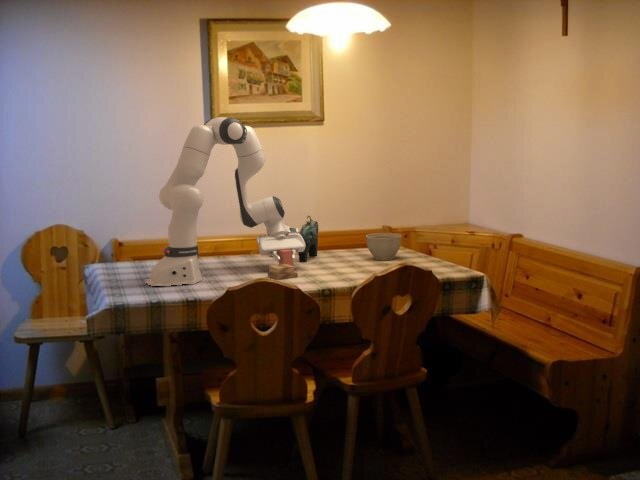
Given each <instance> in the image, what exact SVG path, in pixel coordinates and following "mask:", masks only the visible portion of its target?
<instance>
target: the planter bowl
mask: <svg viewBox="0 0 640 480" xmlns="http://www.w3.org/2000/svg"><path fill="white" fill-rule="evenodd" d="M365 239H366V244H367V245H366V246H367V249H368V250H369V253H370V254H371V255H372V257H373V259H374V260H376V261H391V260H394V259H395V258H396V257H395V256H396V255H397V254H398V252H399V250H400V247H401V244H402V242H401V241H402V234H400V233H395V232H394V233H393V232H378V233H377V232H376V233H369V234H366V235H365Z"/></svg>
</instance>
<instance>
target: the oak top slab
mask: <svg viewBox="0 0 640 480" xmlns="http://www.w3.org/2000/svg"><path fill="white" fill-rule="evenodd" d="M268 267H269V269H268V270H269V271H268V272H271V273H274V274H277V275H280V274H288V273H294V272H295V266H294V265H293V266H291V265H287V264H281V265H279V264H275V265H269V266H268Z"/></svg>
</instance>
